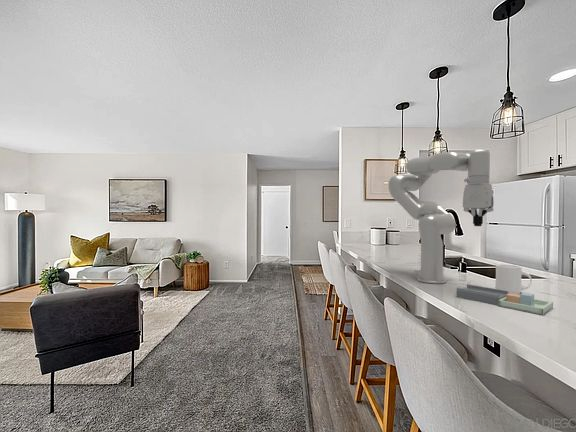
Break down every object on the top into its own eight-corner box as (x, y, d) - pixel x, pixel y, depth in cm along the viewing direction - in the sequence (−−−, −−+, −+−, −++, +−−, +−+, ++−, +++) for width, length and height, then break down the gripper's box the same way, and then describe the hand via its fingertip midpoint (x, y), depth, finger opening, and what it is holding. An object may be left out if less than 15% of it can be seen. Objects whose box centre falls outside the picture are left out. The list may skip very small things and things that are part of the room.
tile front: (520, 294, 107) (530, 296, 105) (523, 292, 109) (534, 294, 107) (519, 306, 107) (530, 308, 105) (523, 304, 110) (534, 306, 107)
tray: (497, 306, 109) (497, 300, 109) (510, 300, 116) (510, 294, 116) (542, 315, 99) (542, 309, 99) (552, 308, 107) (552, 302, 107)
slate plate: (456, 296, 120) (456, 287, 120) (467, 292, 127) (467, 284, 127) (498, 305, 109) (498, 295, 109) (508, 300, 116) (508, 291, 116)
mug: (533, 296, 121) (534, 269, 121) (496, 292, 127) (497, 266, 127) (529, 291, 129) (529, 265, 129) (494, 288, 135) (494, 263, 135)
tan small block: (506, 303, 110) (506, 294, 110) (510, 301, 113) (510, 293, 113) (519, 306, 107) (519, 297, 107) (523, 303, 110) (523, 295, 110)
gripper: (455, 181, 131) (454, 225, 131) (496, 178, 119) (495, 227, 119) (462, 182, 135) (462, 225, 136) (503, 180, 124) (502, 226, 124)
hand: (477, 226), depth 127 cm, fingers closed
